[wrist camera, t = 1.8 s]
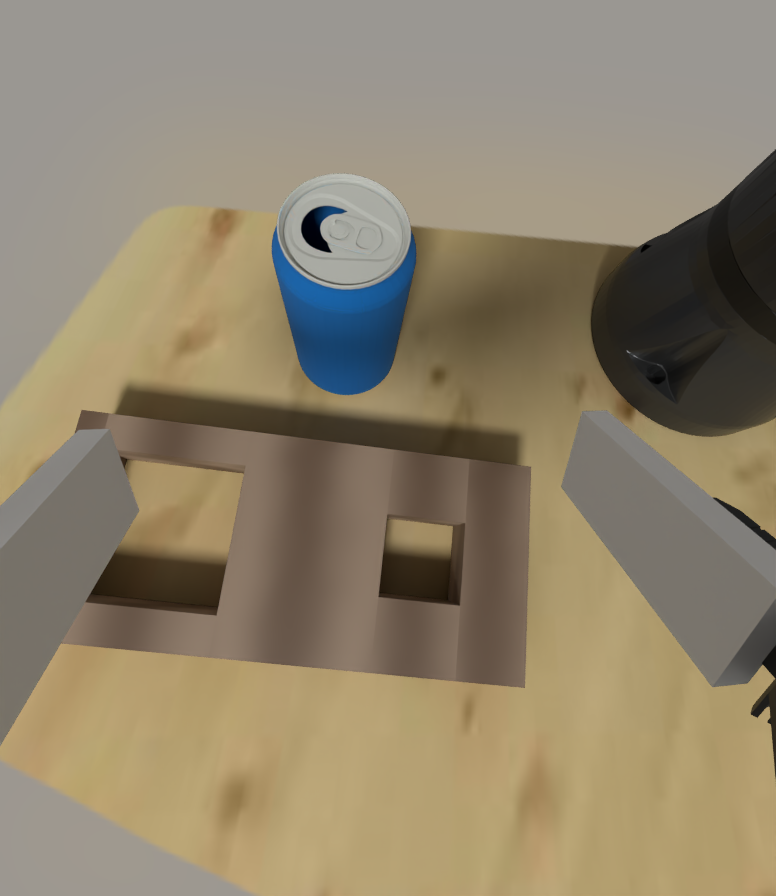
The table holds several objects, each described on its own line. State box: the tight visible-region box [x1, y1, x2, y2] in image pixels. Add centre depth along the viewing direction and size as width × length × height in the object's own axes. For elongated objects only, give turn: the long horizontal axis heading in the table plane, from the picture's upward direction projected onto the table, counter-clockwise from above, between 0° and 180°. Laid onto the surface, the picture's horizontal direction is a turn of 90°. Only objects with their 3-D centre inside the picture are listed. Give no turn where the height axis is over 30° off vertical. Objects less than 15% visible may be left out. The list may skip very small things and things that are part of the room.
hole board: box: [61, 410, 531, 688], centre depth 25 cm, size 26×12×3 cm, turn 84°
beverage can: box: [272, 173, 416, 395], centre depth 24 cm, size 6×6×12 cm
